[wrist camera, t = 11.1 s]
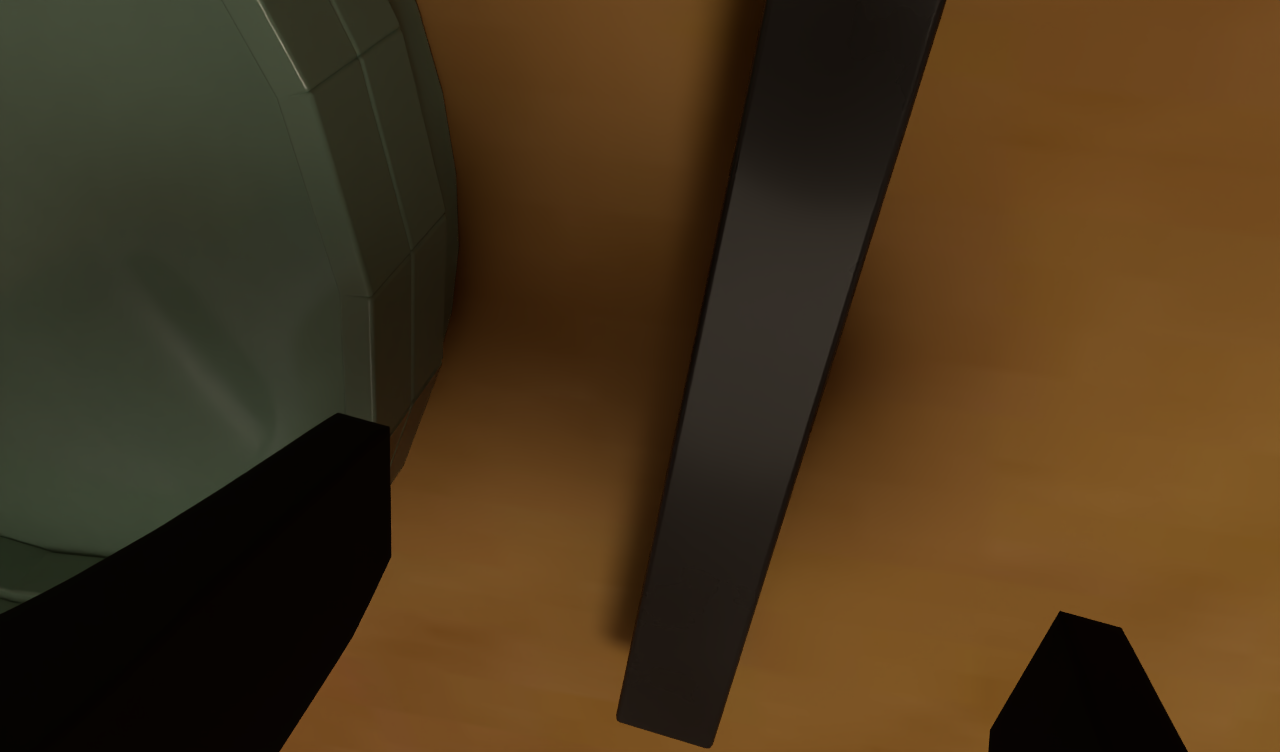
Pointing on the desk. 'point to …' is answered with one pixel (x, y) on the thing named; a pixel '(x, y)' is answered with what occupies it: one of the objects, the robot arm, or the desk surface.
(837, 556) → the desk surface
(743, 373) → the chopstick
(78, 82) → the green round tray
